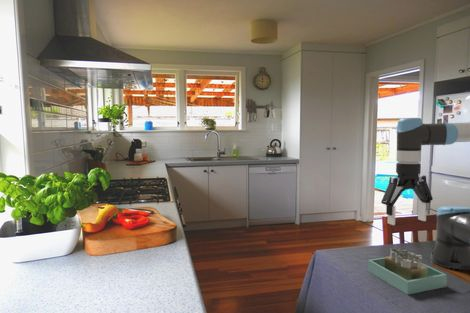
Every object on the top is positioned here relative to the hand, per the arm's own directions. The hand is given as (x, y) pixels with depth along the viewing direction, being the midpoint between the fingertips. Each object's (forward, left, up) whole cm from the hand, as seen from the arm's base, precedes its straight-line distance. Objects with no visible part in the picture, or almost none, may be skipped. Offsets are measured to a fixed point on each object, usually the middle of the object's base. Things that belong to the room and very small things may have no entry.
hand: (406, 222), depth 112 cm
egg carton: (0, 0, -15) cm, 15 cm away
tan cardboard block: (0, 0, -21) cm, 21 cm away
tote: (0, 0, -21) cm, 21 cm away
